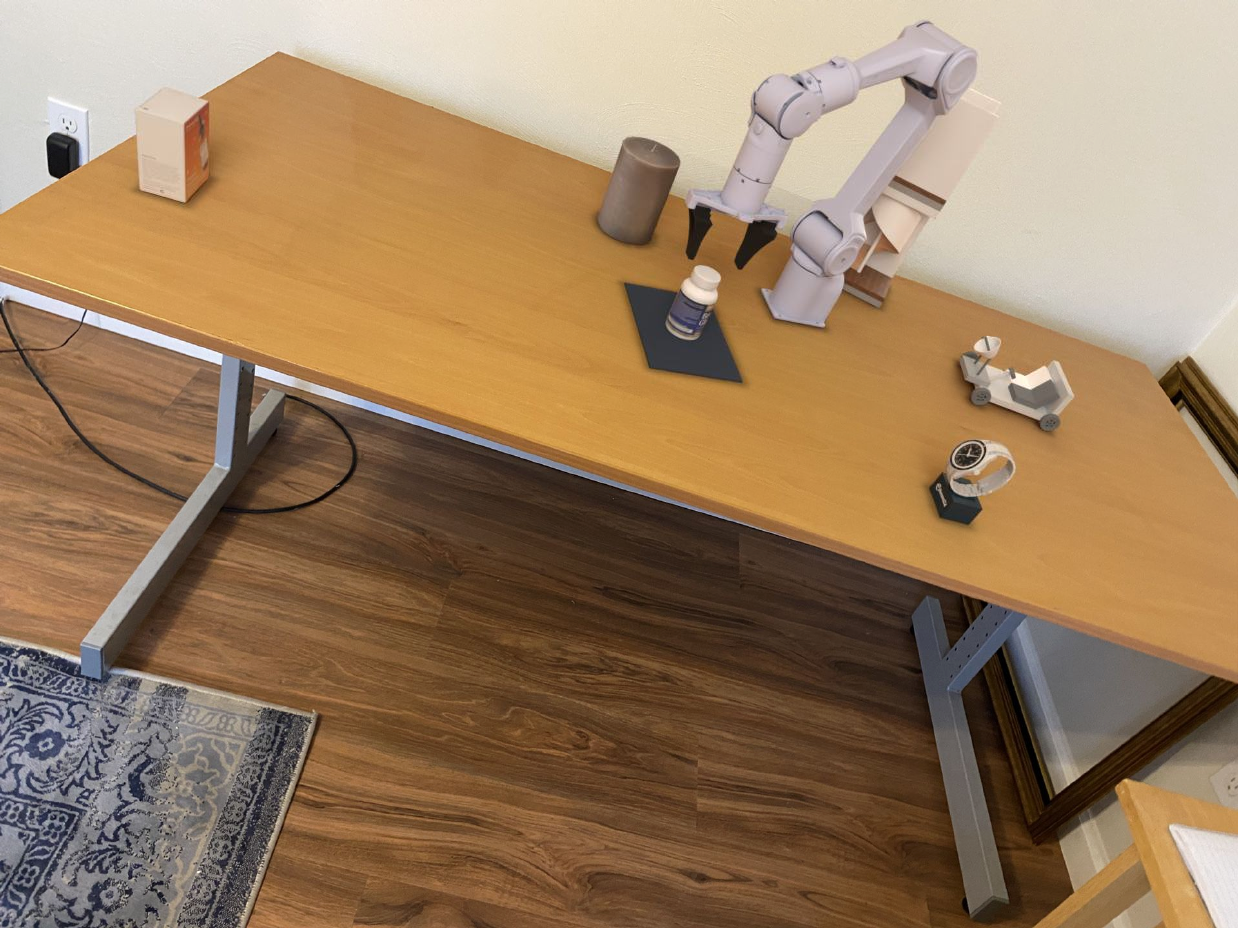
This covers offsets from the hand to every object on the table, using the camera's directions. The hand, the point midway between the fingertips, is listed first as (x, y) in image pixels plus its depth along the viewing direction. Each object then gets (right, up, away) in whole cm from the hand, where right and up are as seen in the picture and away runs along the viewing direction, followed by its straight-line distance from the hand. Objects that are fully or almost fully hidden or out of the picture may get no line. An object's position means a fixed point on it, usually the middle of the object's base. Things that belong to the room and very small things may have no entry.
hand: (713, 261), depth 119 cm
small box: (-70, +7, -11) cm, 71 cm away
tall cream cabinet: (+30, +4, +34) cm, 46 cm away
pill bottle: (-4, -9, +3) cm, 11 cm away
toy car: (+49, -17, +21) cm, 56 cm away
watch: (+30, -34, -7) cm, 46 cm away
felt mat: (-4, -10, +3) cm, 11 cm away
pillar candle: (-13, +10, +20) cm, 26 cm away
